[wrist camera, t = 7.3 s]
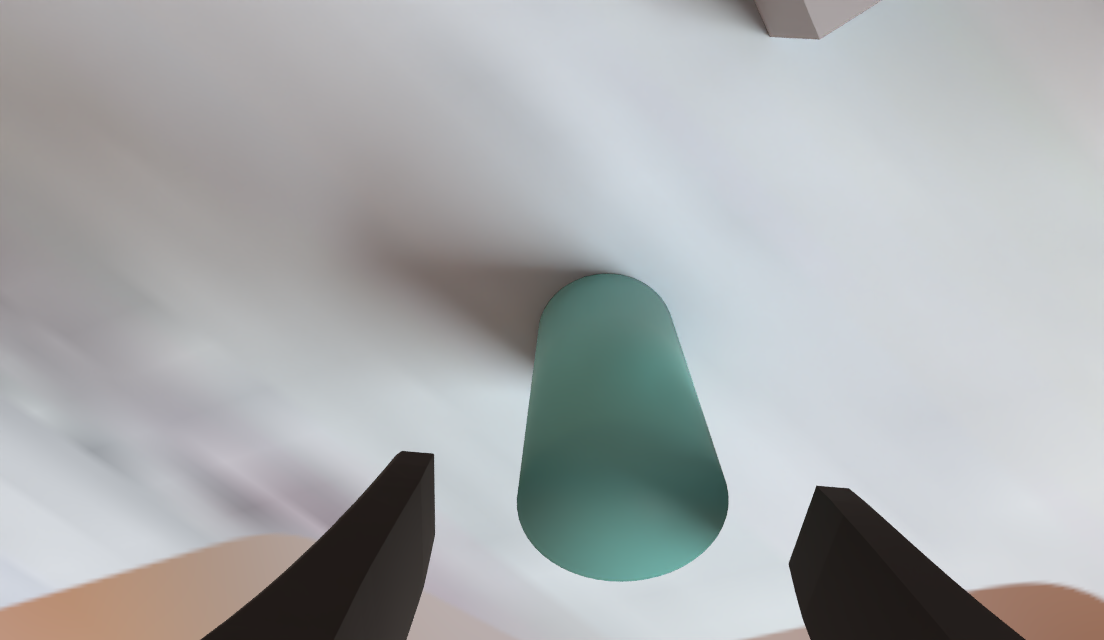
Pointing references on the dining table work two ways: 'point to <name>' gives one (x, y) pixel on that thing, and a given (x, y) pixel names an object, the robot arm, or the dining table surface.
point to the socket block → (808, 16)
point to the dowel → (616, 438)
